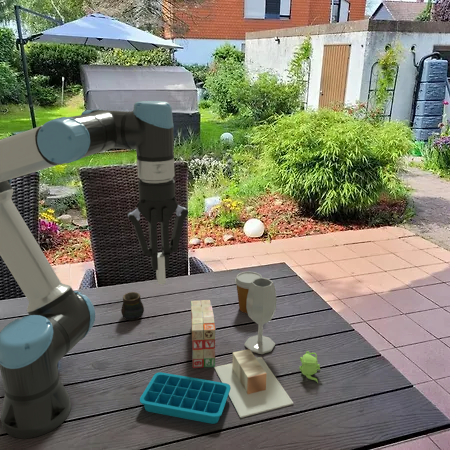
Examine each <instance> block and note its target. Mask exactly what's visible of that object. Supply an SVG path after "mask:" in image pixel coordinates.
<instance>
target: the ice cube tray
mask: <svg viewBox="0 0 450 450" xmlns="http://www.w3.org/2000/svg"><path fill="white" fill-rule="evenodd" d="M230 389H231V387H230V385H229V384H227V383H222V382H220V381H216V380H215V381H213V380H208V379H203V378H197V377H191V376H185V375H179V374H173V373H168V372H162V371H159V372H156V373H154V375H153V376H152V378H151V379H150V380H149V382H148V384H147V386H146V388H145V389H144V391H143V393H142V394H141V396H140V397H139V403H140V404H142V405H143V406H144V410H145V411H146V412H149V413H153V414H154V413H155V414H160V415H163V416H170V417H175V418H181V419H185V420H190V421H191V420H192V421H196V422H202V423H206V424H212V425H214V424H217V423H219V420H220V417H221V416H222V415H223V411H224V408H225V406H226V404H227V399H228V397H229V392H230Z"/></svg>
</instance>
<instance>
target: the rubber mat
mask: <svg viewBox="0 0 450 450" xmlns="http://www.w3.org/2000/svg"><path fill="white" fill-rule="evenodd" d="M256 359H257V360H258V362H259V363H260V365H261V366H262V368H263V369H264V371H265V372H266V374H267V375H266V390H263V391H259V392H255V393H251V394H247V392H246V391H245V389H244V387H243V386H242V384H241V382H240V380H239V379H238V377H237V375H236V374H235V372H234V370H233V368H232V362H231V363H228V364H226V363H225V364H222V365H218V366H215V367H213V368H214V370H215V373H216V374H217V376H218V378H219V380H220V381H221V383H227V384H229V385H230V387H231V389H230V392H229V395H228V397H229V399H230V401H231V403H232V404H233V408H234V409H235V411H236V413H237V414H238V416H239V418H240V419H242V418H245V417H246V418H247V417H251V416H253V415H257V414H261V413H265V412H269V411H273V410H276V409H280V408H284V407H288V406H293V405H294V402H293V400H292V399H291V397H290V396H289V394H288V393H287V391H286V390H285V389H284V387H283V386H282V384H281V383H280V381H279V380H278V379H277V377H276V376H275V375H274V373H273V371H272V370H271V368H270V367H269V366H268V364H267V363H266V361H265V360H264V358H263V357H262V356H259V357H256Z"/></svg>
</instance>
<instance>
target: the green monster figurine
mask: <svg viewBox="0 0 450 450" xmlns="http://www.w3.org/2000/svg"><path fill="white" fill-rule="evenodd" d="M313 355H314V356H313ZM299 361H300V362H301V365H299V371H300V372H301V373H302V375H303V376H306V379H308V380H312V381H315V382H316V384H318V383H319V382H318V378H316V377H313V375H315V374H317V373H318V371H320V370H321V367H320V366H321V365H320V363H319V362H318V361H319V360H318V355H317V353H316V352H310V351H308V350H306V351H305V353H304V354H303V355H302V356H300V358H299Z"/></svg>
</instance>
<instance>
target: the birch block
mask: <svg viewBox="0 0 450 450" xmlns="http://www.w3.org/2000/svg"><path fill="white" fill-rule="evenodd" d="M256 358H257V357H256V356H255V353H254V352H251V350H250V349H248V348H246V349H244V350H243V349H242V350H238V351H233V352H232V362H231V363H232V368H233V370H234V372H235V374H236V375H237V377H238V379H239V380H240V382H241V384H242V386H243V387H244V389H245V391H246V392H247V394H251V393H255V392H259V391H263V390H266V375H267V374H266V372H265V371H264V369H263V368H262V366H261V365H260V363H259V362H258V360H257V359H256Z"/></svg>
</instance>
